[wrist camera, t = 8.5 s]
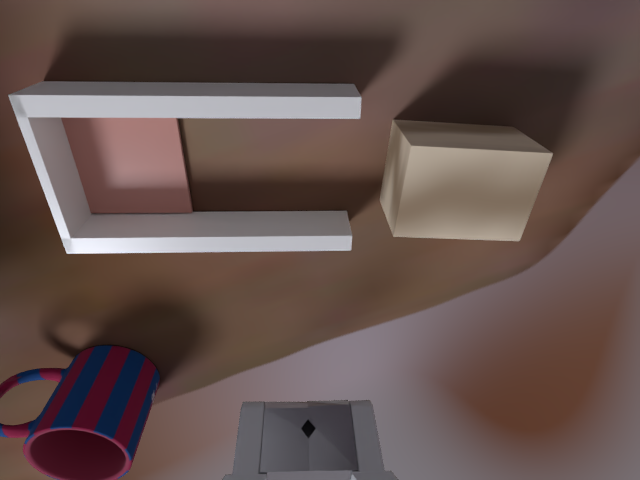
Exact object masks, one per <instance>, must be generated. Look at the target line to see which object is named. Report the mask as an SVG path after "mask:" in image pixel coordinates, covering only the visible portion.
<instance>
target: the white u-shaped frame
mask: <svg viewBox="0 0 640 480" xmlns="http://www.w3.org/2000/svg"><path fill="white" fill-rule="evenodd" d="M8 96H9V99H10V102H11V104H12V107H13V110H14V112H15V115H16V118H17V120H18V123H19V126H20V129H21V131H22V134H23V137H24V139H25V142H26V145H27V147H28V150H29V153H30V156H31V158H32V161H33V164H34V166H35V169H36V172H37V174H38V177H39V180H40V182H41V185H42V188H43V191H44V193H45V196H46V199H47V201H48V204H49V207H50V209H51V212H52V215H53V217H54V220H55V223H56V226H57V228H58V231H59V234H60V236H61V239H62V242H63V244H64V247H65V250H66V253H67V254H79V253H168V252H256V251H345V250H351V244H352V233H351V228H350V224H349V219H348V214H347V211H236V212H193V207H192V201H191V195H190V189H189V183H188V176H187V170H186V164H185V158H184V152H183V146H182V140H181V134H180V128H179V122H178V118H307V119H360V112H361V98H362V97H361V95H360V94H359V92H358V90H357V88H356V86H355V85H354V84H312V83H190V82H69V81H42V82H40V83H37V84H35V85H32V86H30V87H27V88H24V89H22V90H19V91H17V92H14V93H12V94H9V95H8Z"/></svg>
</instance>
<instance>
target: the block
mask: <svg viewBox="0 0 640 480" xmlns="http://www.w3.org/2000/svg"><path fill="white" fill-rule="evenodd" d="M552 155H553V153H552V152H550V151H549V150H547V149H546V148H544V147H543V146H541V145H540V144H538V143H537V142H535V141H534V140H532V139H531V138H529V137H528V136H526V135H525V134H523V133H522V132H520V131H519V130H517V129H516V128H514V127H510V126H493V125H477V124H460V123H443V122H426V121H410V120H393V121H392V127H391V133H390V139H389V145H388V152H387V158H386V164H385V170H384V176H383V182H382V188H381V194H380V202H381V205H382V208H383V210H384V213H385V216H386V218H387V221H388V223H389V226H390V229H391V231H392V234H393V236H394V237H418V238H446V239H473V240H501V241H520V239H521V236H522V233H523V231H524V228H525V226H526V223H527V220H528V218H529V215H530V213H531V210H532V207H533V205H534V202H535V200H536V197H537V194H538V192H539V189H540V187H541V184H542V181H543V179H544V176H545V174H546V171H547V168H548V166H549V163H550V161H551V158H552Z"/></svg>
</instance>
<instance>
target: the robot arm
mask: <svg viewBox="0 0 640 480" xmlns="http://www.w3.org/2000/svg"><path fill="white" fill-rule="evenodd" d="M222 480H398V479H397V477H396V476H395V475H394V474H393V472H392V471H385V470H384V464H383V459H382V453H381V448H380V442H379V437H378V431H377V426H376V420H375V415H374V410H373V405H372V403H371V401H370V400H362V401H348V400H334V401H307V402H243V404H242V407H241V412H240V419H239V427H238V435H237V443H236V450H235V458H234V466H233V474H228V475H225V476H224V478H223V479H222Z"/></svg>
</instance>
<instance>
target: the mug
mask: <svg viewBox="0 0 640 480" xmlns="http://www.w3.org/2000/svg"><path fill="white" fill-rule="evenodd" d="M34 380H54V381H57V382H59V384H58V385H57V387H56V389H55V390H54V392H53V394H52V396H51V397H50V399H49V401H48V402H47V404H46V406H45V407H44V409H43V411H42V412H41V414H40V415H39V416H38V417H37V418H36V420H33V421H30V422H27V423H24V424H20V425H4V424H1V423H0V436H2V437H8V438H19V437H27V439H26V441H25V443H24V445H23V452H24V456H25V457H26V459H27V461H28V462H29V463H30V464H31V465H32V466H33V467H34V468H35V469H37V470H38V471H40V472H41V473H43V474H45V475H47V476H49V477H52V478H54V479H57V480H116V479H119V478H120V477H122V476H123V475H125V474H126V473H127V472H128V471H129V470H130V468H131V465H132V462H133V459H134V456H135V454H136V451H137V448H138V445H139V442H140V439H141V436H142V433H143V430H144V427H145V424H146V421H147V419H148V416H149V413H150V410H151V407H152V404H153V401H154V398H155V395H156V392H157V389H158V386H159V383H160V376H159V372H158V371H157V369H156V367H155V366H154V364H153V363H152V362H151V361H150V360H149V359H148V358H146V357H145V356H143V355H142V354H140V353H138V352H136V351H134V350H131V349H128V348H125V347H120V346H113V345H102V346H95V347H92V348H88V349H86V350H84V351H82V352H80V353H79V354H78V355H77V356H76V357H75V358H74V359H73V361H72V362H71V364H70V365H69V367H68V368H67V369H61V368H41V369H33V370H28V371H25V372H21V373H19V374H16V375H14V376H12V377H10V378H8V379H7V380H6V381H4V382H3V383H2V384H1V385H0V398H1V397H2V396H3V395H4V394H5V393H6V392H7V391H9V390H10V389H11V388H13V387H15V386H17V385H19V384H21V383H25V382H29V381H34Z"/></svg>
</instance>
